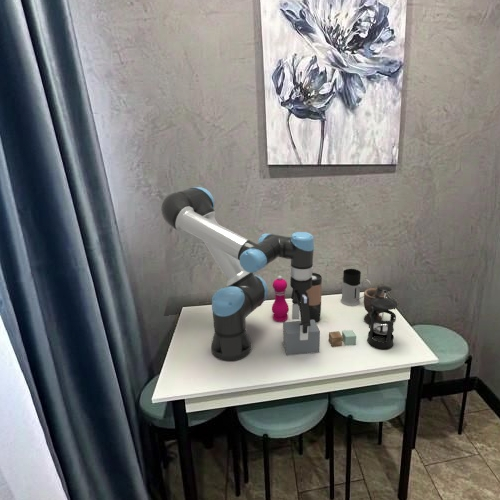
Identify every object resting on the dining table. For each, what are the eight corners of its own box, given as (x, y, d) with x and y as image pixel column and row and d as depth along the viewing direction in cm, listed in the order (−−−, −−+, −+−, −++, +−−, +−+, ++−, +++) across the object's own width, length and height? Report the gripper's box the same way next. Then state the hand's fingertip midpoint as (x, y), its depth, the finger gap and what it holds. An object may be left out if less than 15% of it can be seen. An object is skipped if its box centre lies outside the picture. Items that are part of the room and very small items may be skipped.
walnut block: (331, 347, 133) (332, 338, 131) (328, 341, 137) (328, 332, 135) (342, 346, 133) (342, 337, 132) (338, 340, 137) (339, 331, 136)
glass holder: (348, 295, 171) (349, 266, 166) (374, 305, 160) (377, 275, 155) (336, 301, 166) (338, 272, 160) (363, 312, 155) (365, 281, 150)
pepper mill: (289, 314, 156) (289, 273, 149) (287, 323, 150) (287, 280, 143) (273, 313, 158) (272, 271, 151) (270, 321, 151) (269, 278, 145)
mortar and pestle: (393, 327, 143) (398, 282, 136) (374, 332, 141) (378, 286, 134) (375, 314, 153) (379, 271, 147) (358, 318, 151) (361, 275, 144)
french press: (400, 347, 131) (407, 291, 123) (378, 353, 128) (383, 296, 120) (380, 331, 141) (385, 278, 133) (359, 336, 139) (363, 282, 131)
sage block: (345, 345, 133) (345, 336, 132) (341, 339, 137) (342, 330, 136) (355, 345, 133) (356, 335, 132) (351, 339, 137) (352, 330, 136)
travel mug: (319, 314, 155) (321, 272, 148) (321, 324, 148) (322, 280, 141) (302, 314, 156) (302, 272, 149) (302, 323, 149) (303, 280, 142)
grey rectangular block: (287, 355, 129) (286, 334, 126) (283, 342, 137) (282, 322, 134) (319, 352, 130) (320, 331, 127) (313, 339, 138) (314, 319, 135)
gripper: (321, 292, 112) (318, 348, 120) (303, 262, 135) (301, 310, 143) (298, 293, 112) (296, 350, 119) (284, 263, 135) (283, 312, 142)
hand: (299, 328), depth 131 cm, fingers open, 13 cm apart
